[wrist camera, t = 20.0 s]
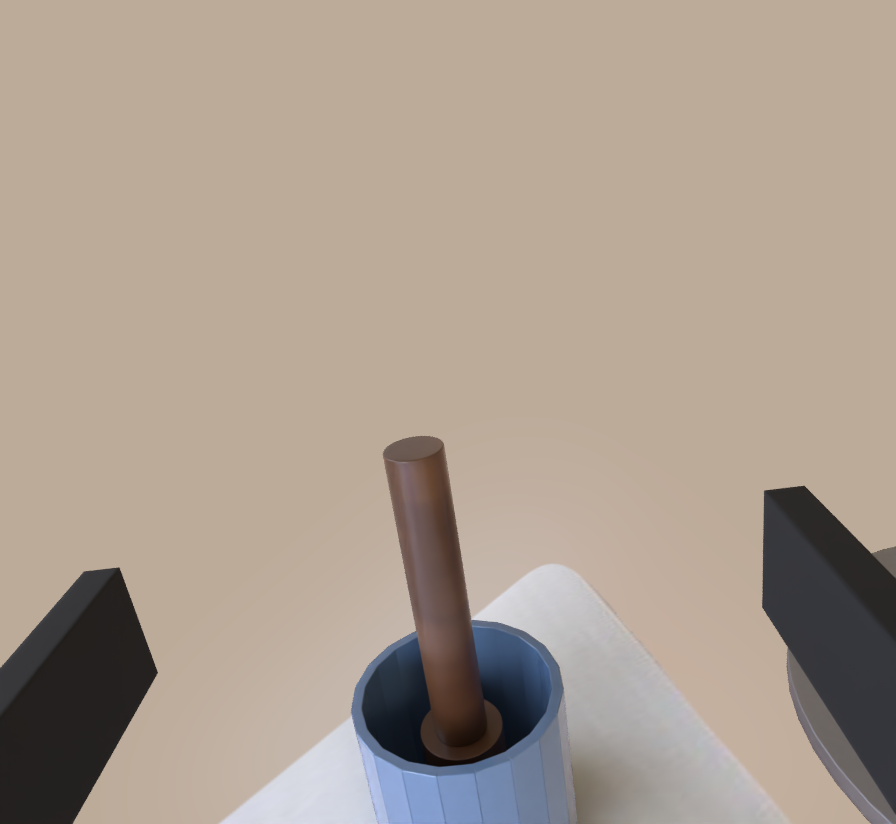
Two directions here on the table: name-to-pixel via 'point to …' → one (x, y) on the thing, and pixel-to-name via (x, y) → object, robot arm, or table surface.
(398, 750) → the blue faceted pencil cup
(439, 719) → the muddler
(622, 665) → the table surface
